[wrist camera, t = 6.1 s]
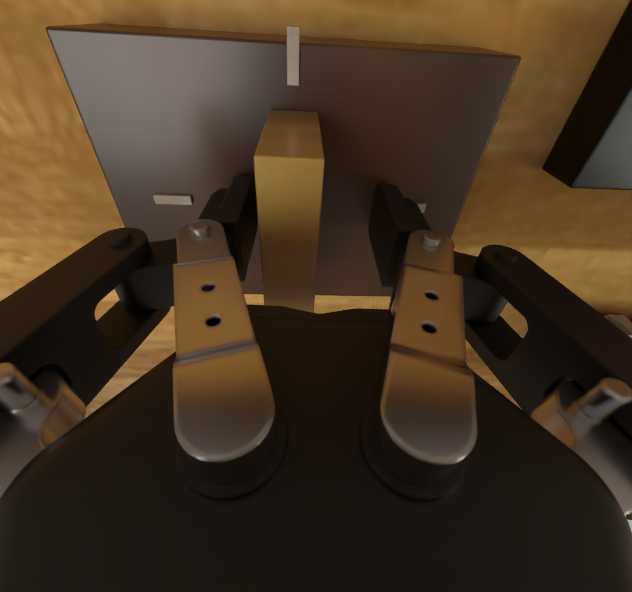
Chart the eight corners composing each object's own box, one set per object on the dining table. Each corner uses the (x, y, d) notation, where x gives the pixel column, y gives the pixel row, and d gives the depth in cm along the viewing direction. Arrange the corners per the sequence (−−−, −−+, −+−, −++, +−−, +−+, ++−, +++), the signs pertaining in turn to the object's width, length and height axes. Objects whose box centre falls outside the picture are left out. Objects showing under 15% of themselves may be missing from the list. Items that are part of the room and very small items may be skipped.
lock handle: (269, 108, 10) (252, 159, 7) (318, 111, 10) (325, 162, 7) (275, 267, 15) (266, 348, 11) (309, 268, 15) (311, 349, 11)
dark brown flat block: (485, 35, 12) (532, 41, 9) (411, 268, 19) (427, 304, 16) (91, 10, 11) (32, 9, 8) (171, 262, 18) (151, 300, 16)
